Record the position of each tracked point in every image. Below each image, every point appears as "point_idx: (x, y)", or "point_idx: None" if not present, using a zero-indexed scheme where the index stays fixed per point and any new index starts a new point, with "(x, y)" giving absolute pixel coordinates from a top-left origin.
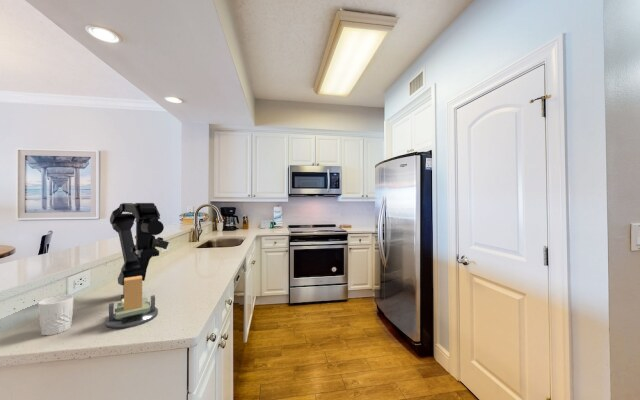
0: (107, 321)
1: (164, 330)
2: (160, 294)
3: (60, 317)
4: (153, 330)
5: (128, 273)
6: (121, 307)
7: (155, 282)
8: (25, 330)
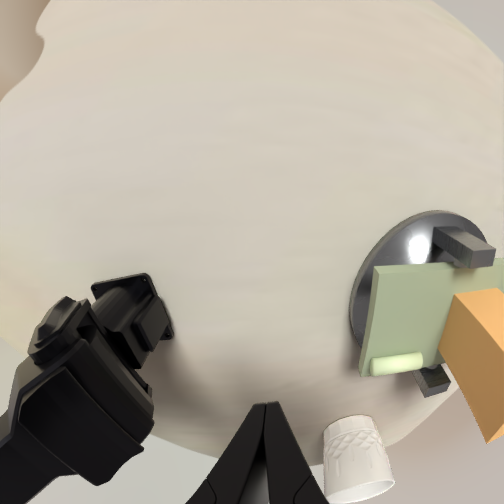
0: None
1: None
2: (162, 185)
3: (384, 449)
4: None
5: (142, 428)
6: (436, 354)
7: (4, 221)
8: None
